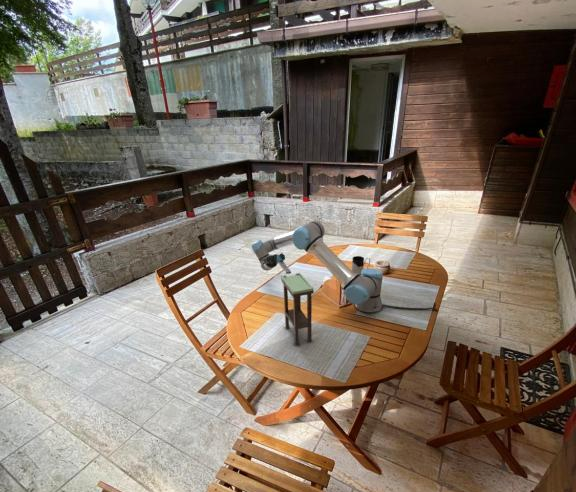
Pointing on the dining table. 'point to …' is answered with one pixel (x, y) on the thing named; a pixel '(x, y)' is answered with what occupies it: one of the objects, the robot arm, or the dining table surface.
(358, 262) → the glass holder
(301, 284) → the tray
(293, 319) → the stand
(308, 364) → the dining table surface
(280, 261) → the blue grooved block
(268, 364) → the dining table surface
